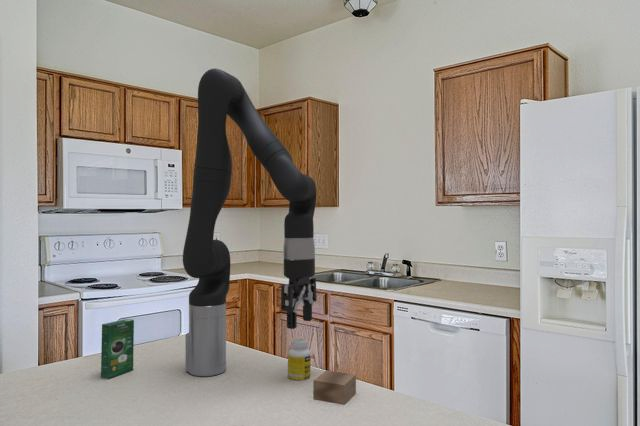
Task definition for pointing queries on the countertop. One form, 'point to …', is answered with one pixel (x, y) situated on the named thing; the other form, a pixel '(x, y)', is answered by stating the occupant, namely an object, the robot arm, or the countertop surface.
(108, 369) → the coffee box
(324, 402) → the mat
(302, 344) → the supplement bottle
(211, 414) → the countertop surface
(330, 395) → the walnut block
